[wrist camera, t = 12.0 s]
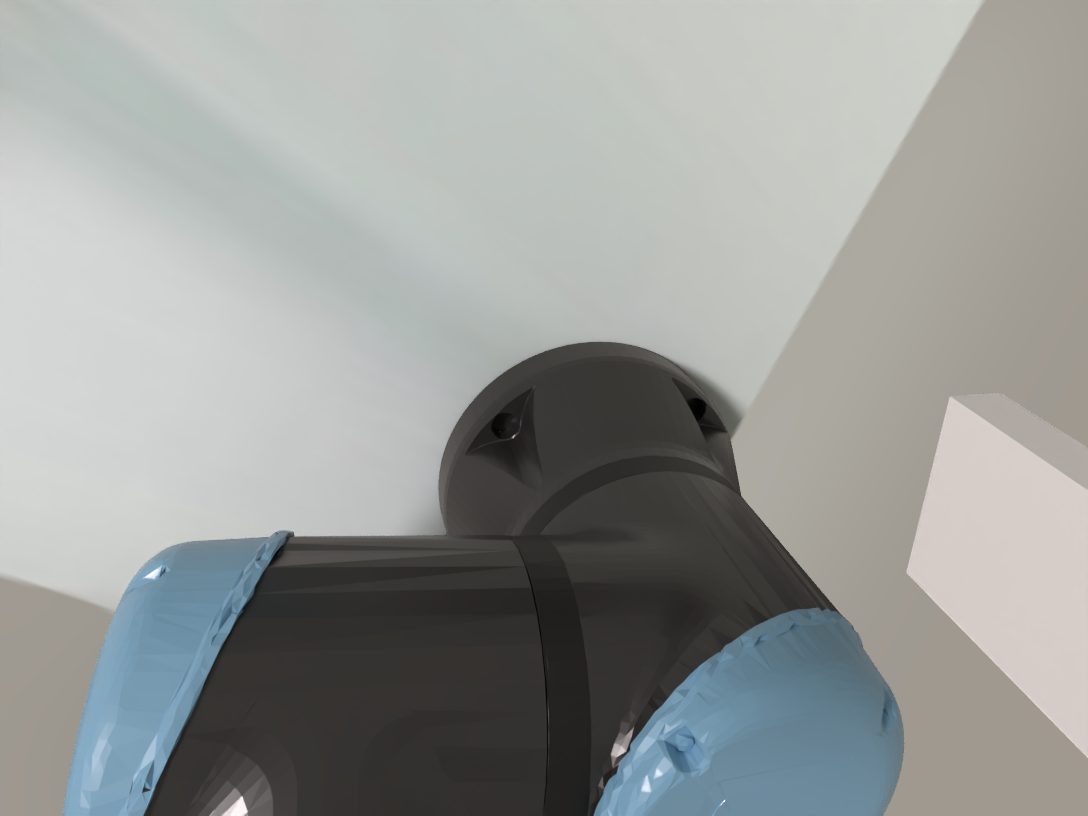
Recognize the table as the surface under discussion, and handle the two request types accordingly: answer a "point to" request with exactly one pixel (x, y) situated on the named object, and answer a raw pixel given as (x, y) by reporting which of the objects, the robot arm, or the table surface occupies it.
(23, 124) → the table surface
